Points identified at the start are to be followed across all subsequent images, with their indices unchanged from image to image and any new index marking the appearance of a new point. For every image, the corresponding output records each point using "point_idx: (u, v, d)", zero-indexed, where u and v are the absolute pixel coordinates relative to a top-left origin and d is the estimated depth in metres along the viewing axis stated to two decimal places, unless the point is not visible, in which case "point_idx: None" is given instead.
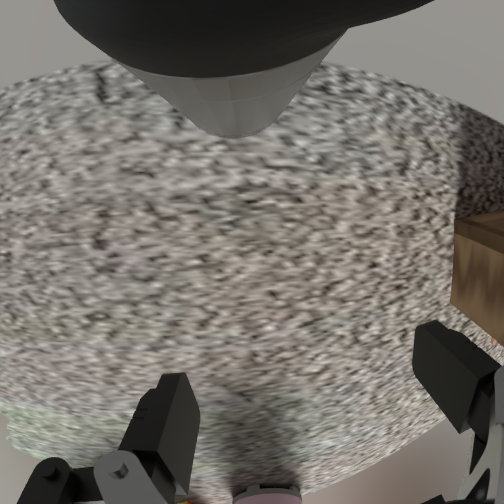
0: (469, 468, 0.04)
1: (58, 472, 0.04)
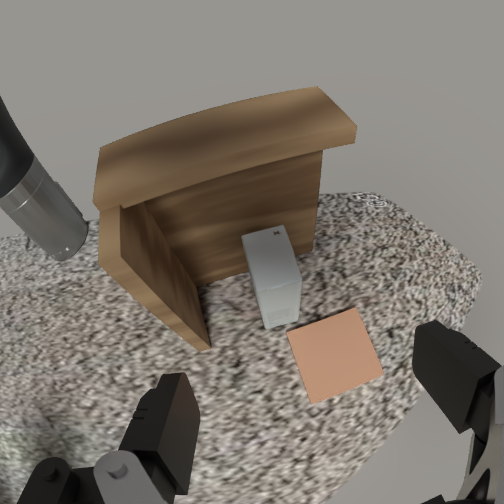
0: (469, 468, 0.04)
1: (58, 472, 0.04)
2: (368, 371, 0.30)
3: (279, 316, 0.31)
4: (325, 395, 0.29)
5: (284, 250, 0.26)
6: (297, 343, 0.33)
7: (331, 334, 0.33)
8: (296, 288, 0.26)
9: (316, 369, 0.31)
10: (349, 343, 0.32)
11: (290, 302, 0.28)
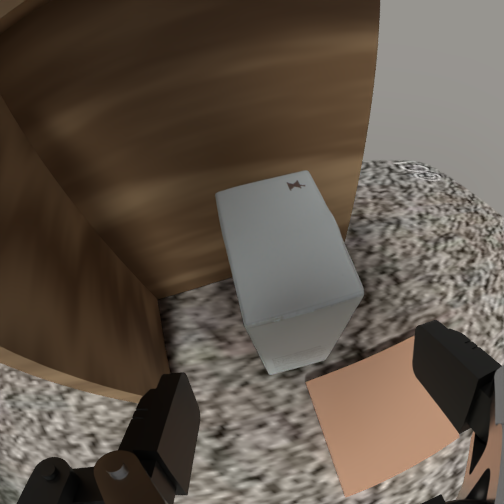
0: (469, 468, 0.04)
1: (58, 472, 0.04)
2: (437, 436, 0.14)
3: (295, 360, 0.16)
4: (369, 482, 0.13)
5: (316, 220, 0.11)
6: (325, 400, 0.17)
7: (382, 382, 0.17)
8: (344, 313, 0.10)
9: (356, 443, 0.15)
10: (411, 395, 0.16)
11: (322, 338, 0.13)
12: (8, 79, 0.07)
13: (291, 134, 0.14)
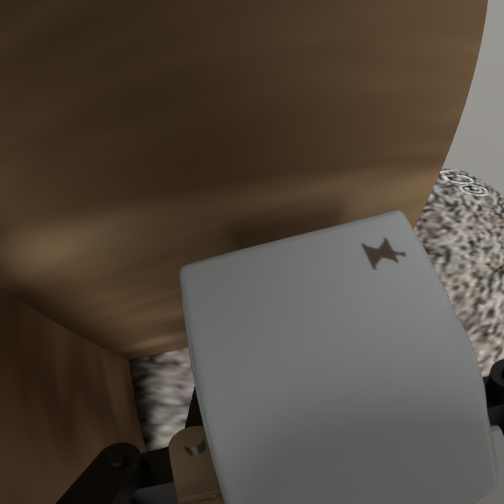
0: None
1: (128, 457, 0.05)
2: None
3: None
4: None
5: (439, 362, 0.03)
6: None
7: None
8: None
9: None
10: None
11: None
12: None
13: (344, 125, 0.06)
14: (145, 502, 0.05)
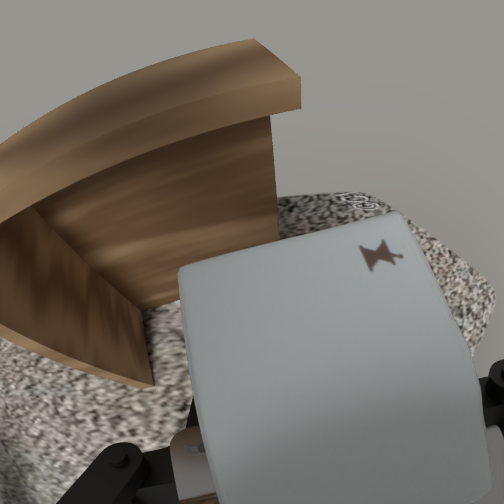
0: None
1: (129, 457, 0.05)
2: None
3: None
4: None
5: (435, 365, 0.03)
6: None
7: None
8: None
9: None
10: None
11: None
12: None
13: (216, 209, 0.21)
14: (146, 502, 0.05)
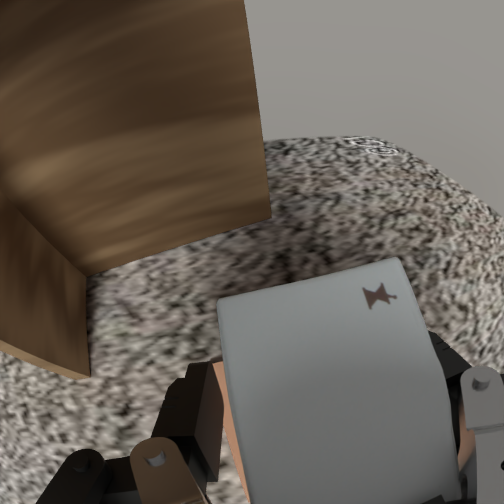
0: None
1: (91, 464, 0.05)
2: None
3: None
4: None
5: (414, 384, 0.04)
6: None
7: None
8: None
9: None
10: None
11: None
12: None
13: (164, 97, 0.12)
14: None
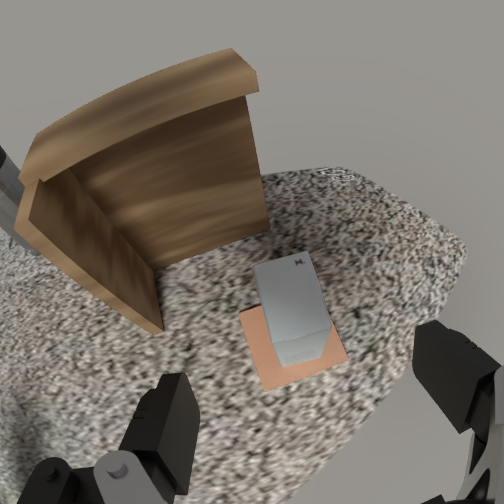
0: (469, 468, 0.04)
1: (58, 472, 0.04)
2: (329, 355, 0.28)
3: (298, 358, 0.25)
4: (280, 382, 0.27)
5: (309, 286, 0.19)
6: (249, 325, 0.31)
7: None
8: (323, 335, 0.19)
9: (269, 353, 0.29)
10: None
11: (313, 346, 0.22)
12: None
13: (212, 174, 0.27)
14: None
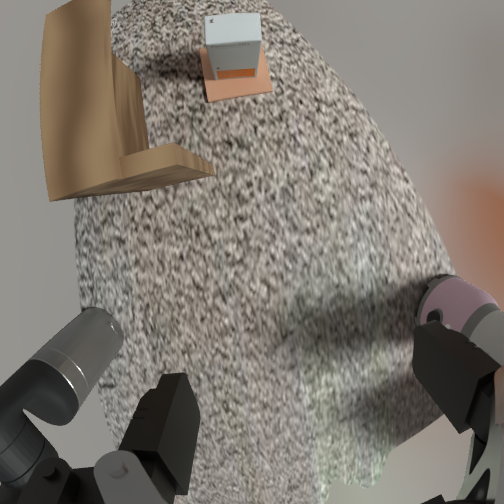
0: (469, 468, 0.04)
1: (58, 472, 0.04)
2: None
3: None
4: (267, 80, 0.36)
5: (229, 18, 0.24)
6: (219, 94, 0.36)
7: None
8: None
9: (244, 83, 0.36)
10: None
11: None
12: None
13: None
14: None
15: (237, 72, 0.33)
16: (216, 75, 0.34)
